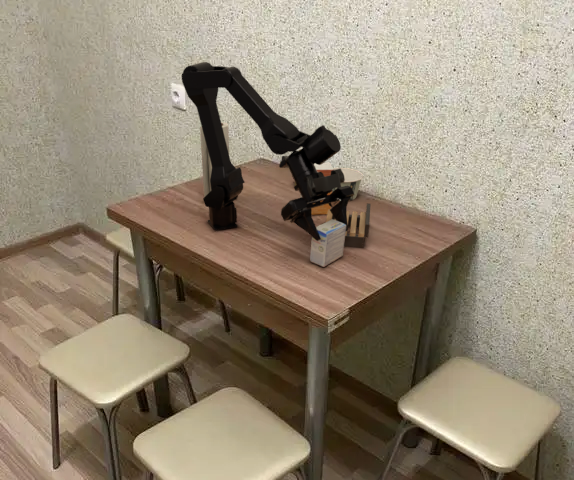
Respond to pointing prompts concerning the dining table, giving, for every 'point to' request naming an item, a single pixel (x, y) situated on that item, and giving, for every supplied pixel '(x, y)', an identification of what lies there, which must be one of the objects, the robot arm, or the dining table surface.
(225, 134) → the paper towel roll
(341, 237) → the medicine box
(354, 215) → the rack
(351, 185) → the food container
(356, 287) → the dining table surface
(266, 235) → the dining table surface
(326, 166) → the small box
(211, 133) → the robot arm
